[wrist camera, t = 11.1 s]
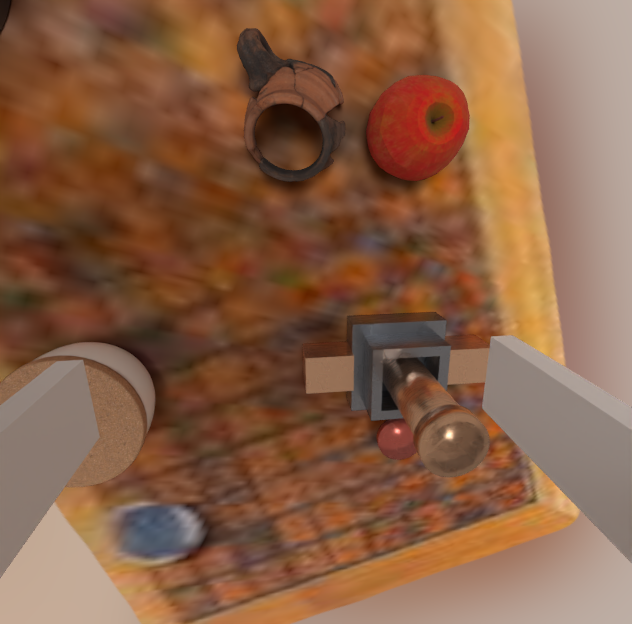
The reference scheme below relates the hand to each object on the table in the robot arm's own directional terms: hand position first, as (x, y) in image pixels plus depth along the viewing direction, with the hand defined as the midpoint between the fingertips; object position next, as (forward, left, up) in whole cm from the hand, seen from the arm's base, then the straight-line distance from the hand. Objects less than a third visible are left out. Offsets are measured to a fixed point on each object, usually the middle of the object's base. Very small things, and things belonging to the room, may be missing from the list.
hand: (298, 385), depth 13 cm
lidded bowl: (-19, -13, -29) cm, 37 cm away
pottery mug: (+1, +13, -29) cm, 32 cm away
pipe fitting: (+12, -12, -26) cm, 31 cm away
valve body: (+12, -15, -28) cm, 34 cm away
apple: (+12, +11, -29) cm, 33 cm away
